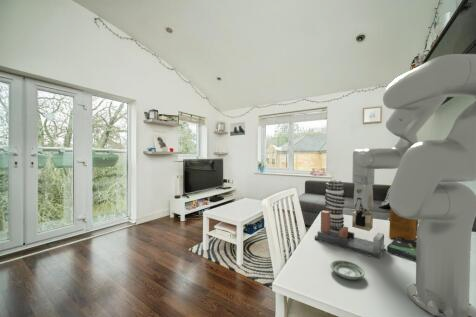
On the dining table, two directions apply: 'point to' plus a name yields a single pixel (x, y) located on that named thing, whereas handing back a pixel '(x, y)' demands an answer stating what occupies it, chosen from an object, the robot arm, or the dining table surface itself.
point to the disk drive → (403, 248)
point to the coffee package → (402, 227)
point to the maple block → (368, 221)
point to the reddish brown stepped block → (326, 226)
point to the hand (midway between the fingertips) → (362, 223)
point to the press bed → (355, 243)
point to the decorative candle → (335, 203)
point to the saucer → (347, 269)
